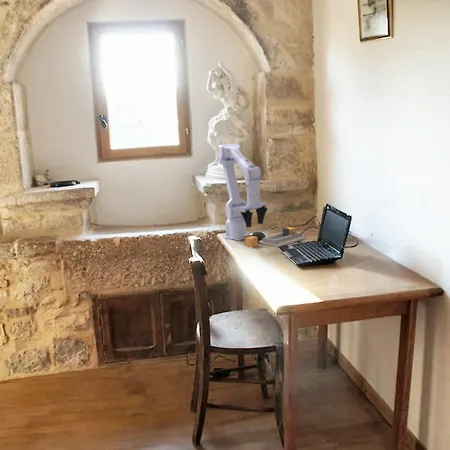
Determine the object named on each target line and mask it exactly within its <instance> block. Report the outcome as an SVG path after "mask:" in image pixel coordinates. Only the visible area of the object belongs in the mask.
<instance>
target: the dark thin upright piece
mask: <svg viewBox="0 0 450 450" xmlns="http://www.w3.org/2000/svg"><path fill="white" fill-rule="evenodd" d="M326 207H327V206H323V208H322V213H321V219H320V225H319V231H318V235H317V243H318V242H319V241H321V240H322V234H321V225H322V221H323V217H324V212H325V209H326Z"/></svg>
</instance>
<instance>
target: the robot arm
mask: <svg viewBox="0 0 450 450" xmlns="http://www.w3.org/2000/svg"><path fill="white" fill-rule="evenodd" d="M216 153H217V157H218V162H219V164H220V165H221V166H222V169H223V173H224V178H225V183H226V188H227V191H228V192H227V193H228V197H229V200H228V201H227V202H226V204H225V206H224V207H225V216H226V219H227V220H226V221H225V236H224V238H225V239H228V240H229V239H230V240H233V239H234V240H233V241H242V240H244V236H247V228H252V217H253V214H254V213H253V212H252V210H253V211H254V210H255V212H256V215H257V217H256V218H257V224H258V225H263V223H264V218H265V215H266V214H267V211H268V207H267V205H268V202H266V201H261V180H262V177H263V171H262V169H261V167H260V166H257V165H255V164H254V163H253V162H252V161H251V159H249V157H245V156H244V155H243V153H242V147H241V145H240V143H238V142H237V143H230V144H219V145H218V147H217V152H216ZM235 164H237V166H238V168H239V169H240V170H241V172H242V174H243V178H244V183H245V185H246V198H247V199H246V200H247V201H246V200H245V199H243V198H241V195H240V190H239V185H238V180H237V174H236V171H235Z"/></svg>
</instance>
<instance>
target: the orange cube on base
mask: <svg viewBox="0 0 450 450" xmlns="http://www.w3.org/2000/svg"><path fill="white" fill-rule="evenodd" d="M243 240H244V246H245V247H246V246H247V247H246V248H250V247H253V248H255V246H256V247H258V246H259V240H258V237H257V236H253V235H251V234H246V236H244V239H243Z"/></svg>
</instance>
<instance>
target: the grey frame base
mask: <svg viewBox="0 0 450 450" xmlns="http://www.w3.org/2000/svg"><path fill="white" fill-rule="evenodd" d="M305 239H306V237H305V236H302V232H300V231H296V228H295V227H289V226H287V227H282V232H278V233H275V234H271V235H267V236H264V237H262V239H261V240H258V244H263V245H268V246H272V245H273V247H277V248H280V246H281V247H284V246H286V245H289V244H293V243H297V242H299V241H302V240H305ZM283 245H284V246H283Z"/></svg>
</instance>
